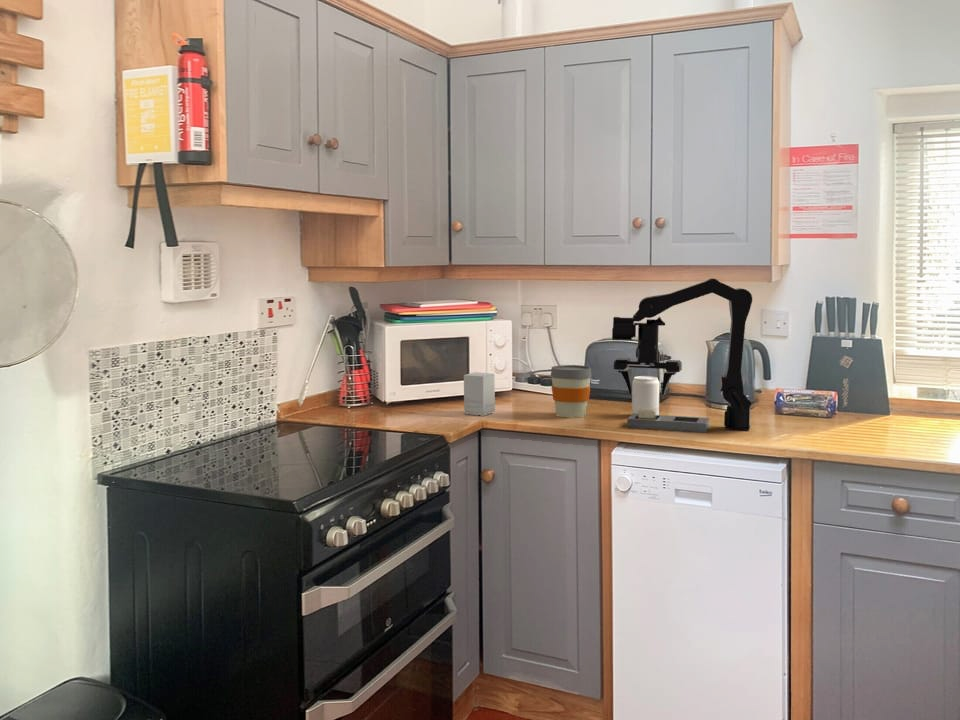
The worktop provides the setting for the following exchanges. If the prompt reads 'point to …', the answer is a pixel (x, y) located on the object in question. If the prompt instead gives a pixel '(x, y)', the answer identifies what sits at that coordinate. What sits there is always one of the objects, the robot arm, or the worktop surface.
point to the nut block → (647, 413)
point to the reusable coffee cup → (571, 389)
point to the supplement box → (479, 393)
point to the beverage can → (645, 393)
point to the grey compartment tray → (670, 423)
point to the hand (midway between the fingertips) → (646, 394)
